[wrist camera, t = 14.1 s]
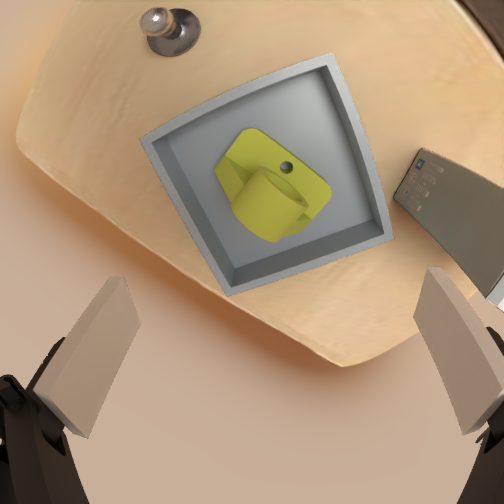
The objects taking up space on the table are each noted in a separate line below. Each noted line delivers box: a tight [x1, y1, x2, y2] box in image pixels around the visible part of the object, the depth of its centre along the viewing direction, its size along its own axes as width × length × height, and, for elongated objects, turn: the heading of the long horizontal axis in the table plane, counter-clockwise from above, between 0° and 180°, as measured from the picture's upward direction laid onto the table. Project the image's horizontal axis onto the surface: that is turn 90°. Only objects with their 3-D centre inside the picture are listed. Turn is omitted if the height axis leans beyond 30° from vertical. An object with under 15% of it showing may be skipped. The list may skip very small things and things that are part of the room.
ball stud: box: [140, 7, 201, 56], centre depth 21 cm, size 6×6×7 cm
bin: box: [139, 53, 394, 297], centre depth 30 cm, size 20×20×5 cm
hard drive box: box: [394, 148, 504, 313], centre depth 23 cm, size 16×8×20 cm, turn 65°
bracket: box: [214, 128, 332, 242], centre depth 27 cm, size 11×6×10 cm, turn 54°
